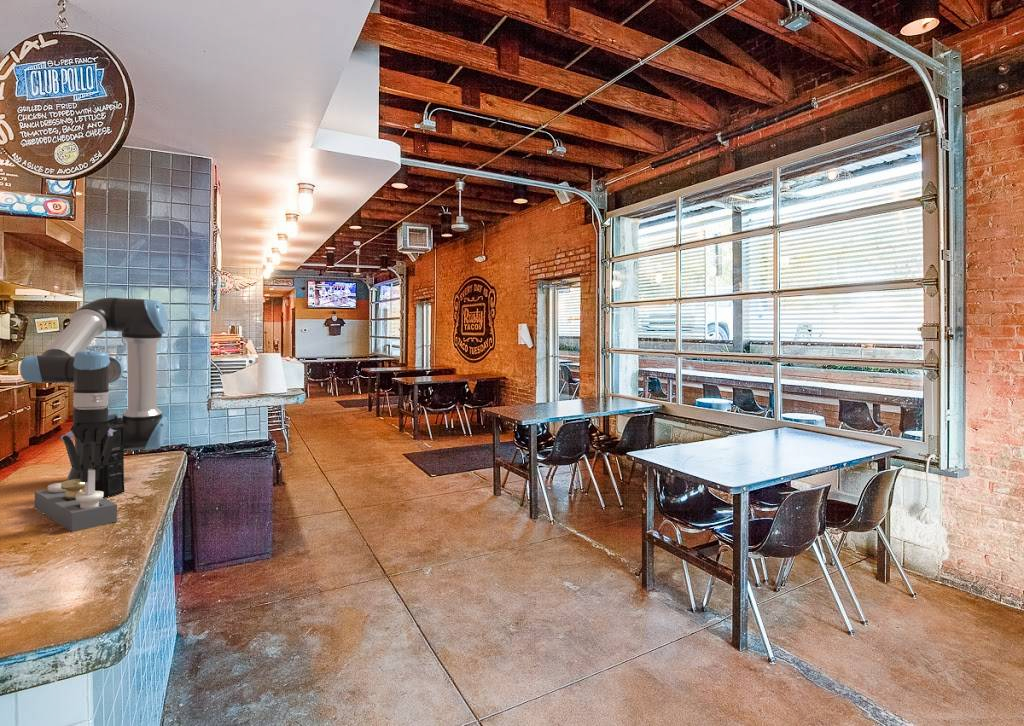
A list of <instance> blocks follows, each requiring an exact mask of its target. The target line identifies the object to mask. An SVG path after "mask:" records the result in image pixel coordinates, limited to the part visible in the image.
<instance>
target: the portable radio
mask: <svg viewBox="0 0 1024 726" xmlns="http://www.w3.org/2000/svg"><path fill="white" fill-rule="evenodd" d="M109 425H110V428H111V429H113V430H116V431H119V435H118V436H117V438H116V439H115V442H114V445H113V448H112V452H111V455H110V458H109V462H108V465H106V466H103V467H101V469H99V480H96V481H95V491H103V492H104V497H107V498H109V497H108V496H110V497H113V496H112V495H114V496H116V495H115V494H117V495H119V494H118V493H121V494H123V493H122V492H124V493H125V469H124V468H125V465H124V463H125V462H124V461H125V456H124V451H125V450H124V425H123V424H117V422H116V417H115V422H114V424H109ZM107 437H108V436H107V433H106V434H105V435H104V437H103V438H102V439H101V445H100V459H101V455H102V452H103V449H104V445H105V442H106V439H107Z"/></svg>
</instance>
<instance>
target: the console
mask: <svg viewBox="0 0 1024 726" xmlns="http://www.w3.org/2000/svg"><path fill="white" fill-rule="evenodd" d="M84 489H85V487H84ZM65 500H66V492H61V493H55V494H53V493H51V492H48V488H47V489H42V490H35V491H34V509H35V508H36V509H35V510H37V511H38V510H39V511H38V512H40V513H41V512H42V513H41V514H43V513H44V514H45V516H46V515H47V516H46V517H48V518H49V517H50V518H49V519H51V520H53V521H54V522H55V523H58V524H59V525H61V526H62V527H63V528H65V529H67V530H68V531H70V532H71V531H72V532H73V531H74V532H78V531H82V529H83V530H86V529H91V528H92V529H93V528H95V527H96V526H97V527H100V525H101V526H105V525H104V524H106V525H110V524H113V523H112V522H115V523H118V504H117V503H115V502H114V501H112V500H109V499H107V498H103V499H101V500H99V506H98V507H93V508H88V509H83V510H82V509H80V502H76V500H72V501H65ZM44 514H43V515H44ZM109 523H110V524H109ZM77 530H78V531H77Z"/></svg>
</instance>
